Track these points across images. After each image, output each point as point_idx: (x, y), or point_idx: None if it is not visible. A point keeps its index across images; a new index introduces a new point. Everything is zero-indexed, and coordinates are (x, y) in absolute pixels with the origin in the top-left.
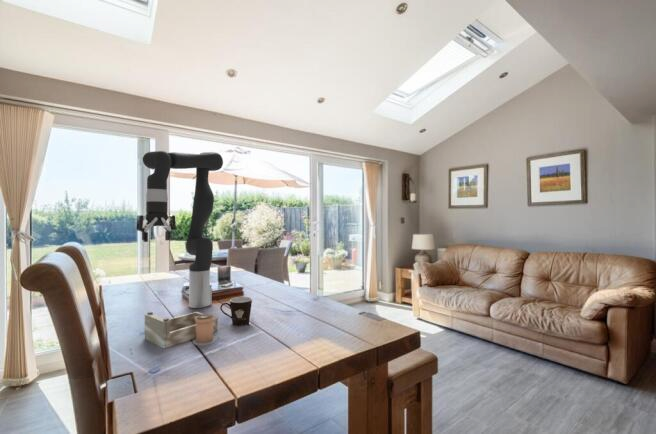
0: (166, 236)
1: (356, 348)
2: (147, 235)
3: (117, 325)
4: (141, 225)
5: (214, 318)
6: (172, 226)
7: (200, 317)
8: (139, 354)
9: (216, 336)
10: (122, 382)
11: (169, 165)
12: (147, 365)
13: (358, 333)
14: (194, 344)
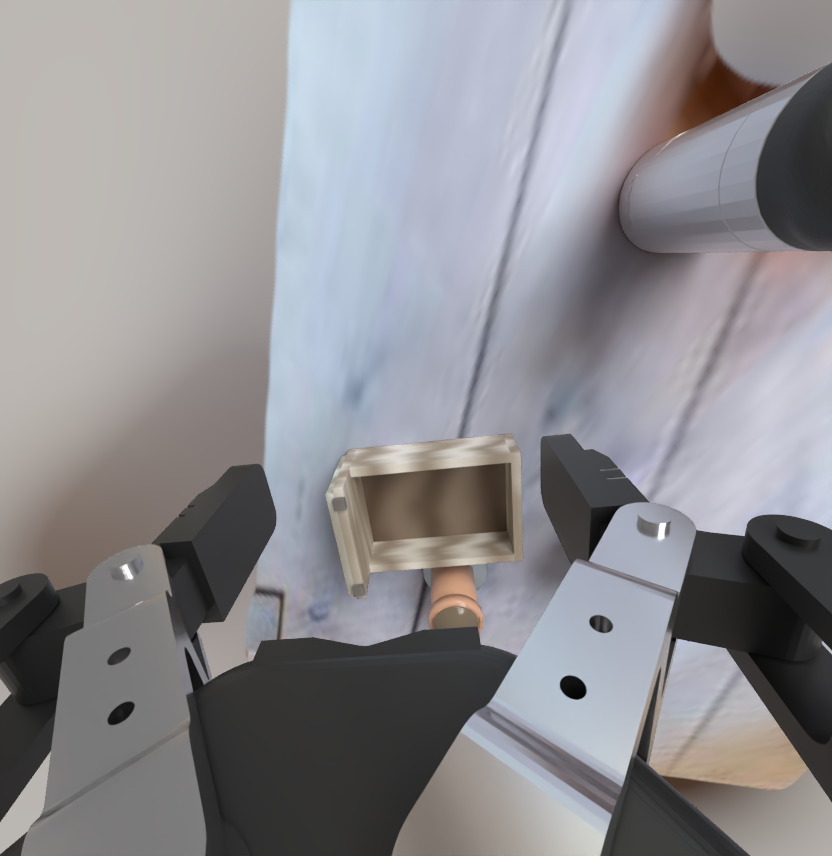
0: (557, 493)
1: None
2: (239, 581)
3: (300, 233)
4: (7, 772)
5: (517, 553)
6: (757, 681)
7: (442, 624)
8: (311, 529)
9: (485, 573)
10: (263, 615)
11: None
12: (312, 587)
13: (712, 735)
14: (423, 573)
